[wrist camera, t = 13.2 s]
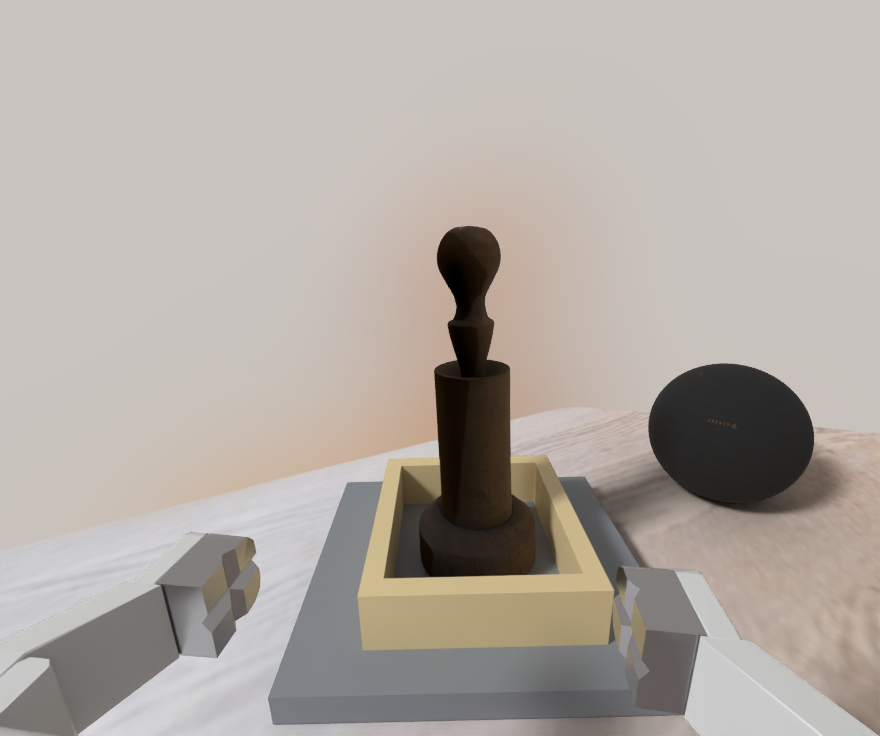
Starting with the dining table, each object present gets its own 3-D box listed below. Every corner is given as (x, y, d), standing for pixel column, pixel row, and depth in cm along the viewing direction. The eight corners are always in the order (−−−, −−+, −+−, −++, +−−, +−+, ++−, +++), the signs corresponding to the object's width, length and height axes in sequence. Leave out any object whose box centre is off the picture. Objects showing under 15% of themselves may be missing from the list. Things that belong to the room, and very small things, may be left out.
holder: (583, 493, 33) (587, 440, 32) (707, 714, 18) (726, 629, 17) (349, 499, 33) (343, 446, 32) (273, 724, 18) (257, 640, 17)
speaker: (680, 534, 28) (703, 392, 26) (622, 459, 38) (634, 349, 35) (835, 533, 28) (876, 389, 25) (737, 458, 38) (759, 347, 35)
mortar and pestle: (483, 506, 29) (477, 229, 25) (560, 557, 24) (570, 220, 20) (399, 548, 26) (373, 231, 21) (469, 618, 21) (454, 220, 16)
